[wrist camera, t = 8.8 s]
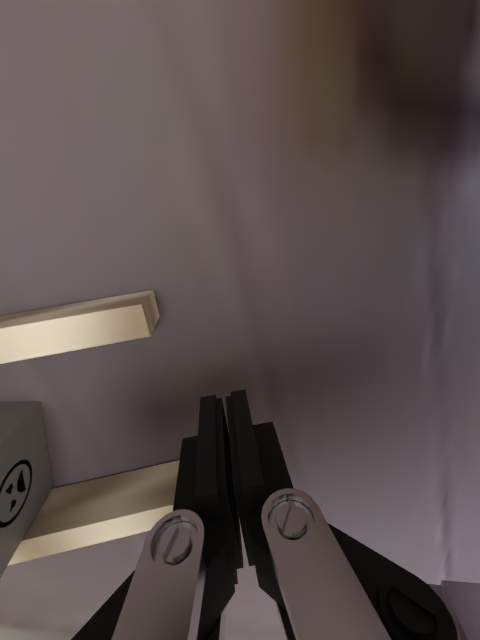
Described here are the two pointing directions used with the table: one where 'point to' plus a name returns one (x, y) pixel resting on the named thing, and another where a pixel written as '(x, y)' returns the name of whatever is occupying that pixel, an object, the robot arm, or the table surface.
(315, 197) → the table surface
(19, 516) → the dice cube
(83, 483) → the bay
